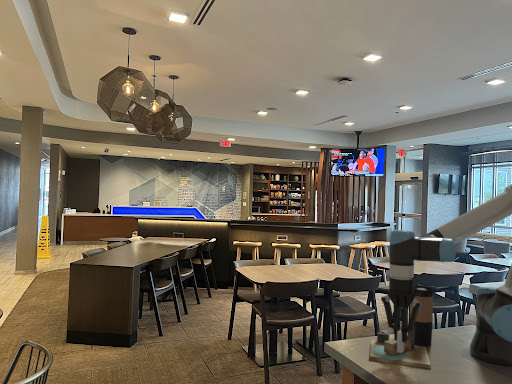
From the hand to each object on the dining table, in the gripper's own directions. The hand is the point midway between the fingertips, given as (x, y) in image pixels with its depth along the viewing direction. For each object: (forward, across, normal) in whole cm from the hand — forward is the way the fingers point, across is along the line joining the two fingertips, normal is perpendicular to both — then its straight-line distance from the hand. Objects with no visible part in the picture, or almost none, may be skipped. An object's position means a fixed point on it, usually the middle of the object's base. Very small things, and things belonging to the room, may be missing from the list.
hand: (400, 351), depth 128 cm
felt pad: (+2, +4, 0) cm, 4 cm away
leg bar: (+1, +2, -3) cm, 3 cm away
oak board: (+3, +2, -4) cm, 5 cm away
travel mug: (+3, 0, -21) cm, 21 cm away
